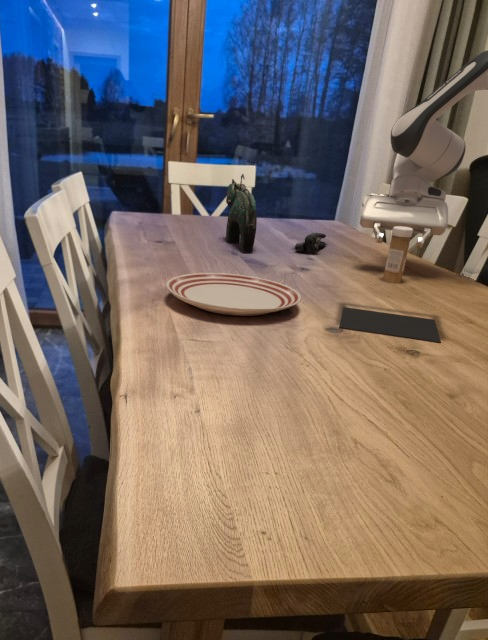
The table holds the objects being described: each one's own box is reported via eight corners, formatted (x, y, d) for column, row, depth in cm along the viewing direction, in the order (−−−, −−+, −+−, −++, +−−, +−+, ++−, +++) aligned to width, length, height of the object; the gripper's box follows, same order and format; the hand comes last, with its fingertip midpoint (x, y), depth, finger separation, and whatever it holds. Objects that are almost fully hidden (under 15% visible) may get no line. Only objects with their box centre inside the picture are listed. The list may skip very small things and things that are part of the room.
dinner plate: (227, 279, 135) (228, 264, 134) (325, 308, 118) (328, 293, 117) (137, 297, 117) (137, 281, 116) (238, 335, 100) (240, 317, 99)
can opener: (313, 256, 164) (317, 236, 162) (291, 252, 167) (294, 232, 165) (334, 247, 178) (337, 229, 175) (312, 244, 181) (315, 225, 178)
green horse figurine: (220, 239, 179) (226, 170, 170) (240, 240, 180) (247, 171, 171) (238, 253, 161) (245, 177, 152) (260, 254, 162) (268, 179, 154)
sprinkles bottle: (404, 285, 140) (417, 228, 134) (392, 287, 138) (405, 229, 132) (389, 280, 143) (401, 225, 137) (377, 282, 141) (389, 226, 135)
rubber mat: (434, 320, 115) (434, 319, 115) (440, 343, 103) (441, 342, 103) (343, 307, 119) (343, 306, 119) (339, 328, 107) (339, 327, 107)
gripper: (365, 184, 142) (356, 230, 138) (453, 192, 137) (446, 240, 133) (362, 201, 148) (353, 246, 144) (446, 209, 143) (440, 256, 139)
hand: (399, 243), depth 139 cm, fingers open, 8 cm apart
